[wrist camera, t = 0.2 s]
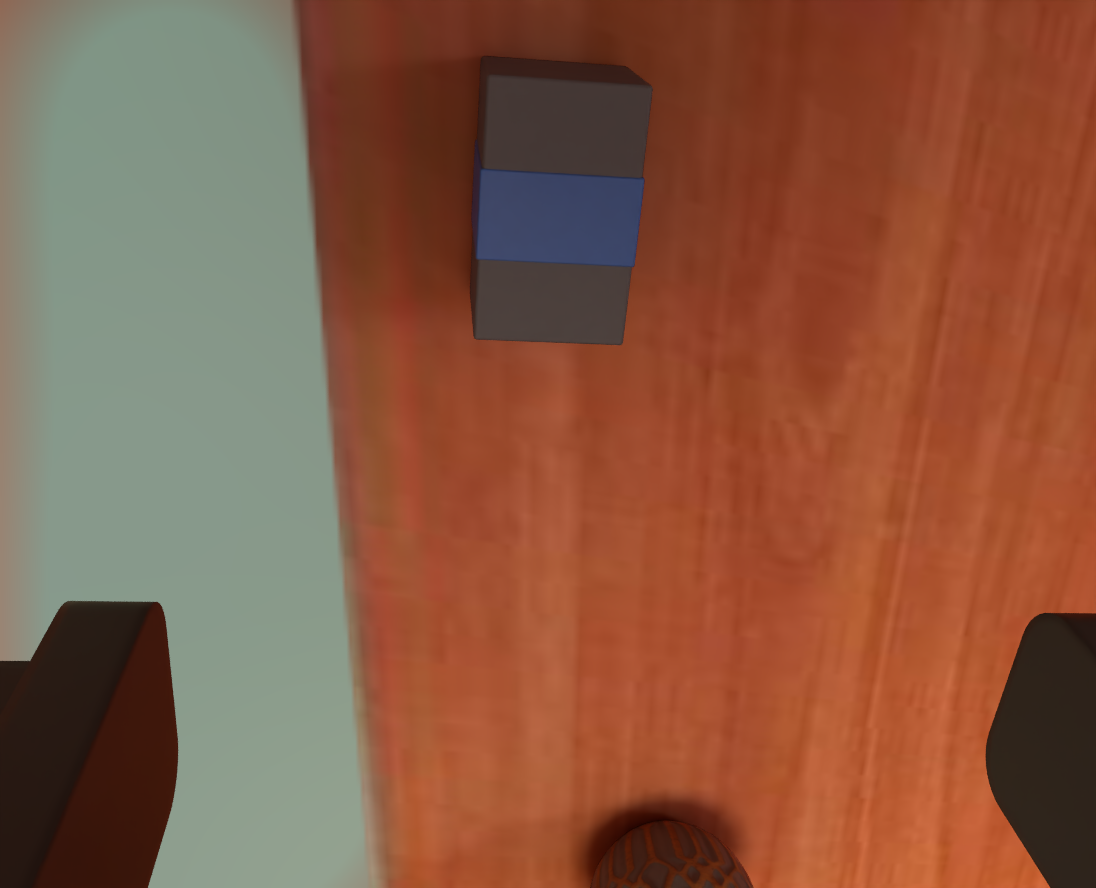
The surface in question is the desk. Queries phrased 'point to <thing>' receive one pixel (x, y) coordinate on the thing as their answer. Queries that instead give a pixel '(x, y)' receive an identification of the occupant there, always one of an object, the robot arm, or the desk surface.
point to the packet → (556, 199)
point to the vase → (669, 860)
